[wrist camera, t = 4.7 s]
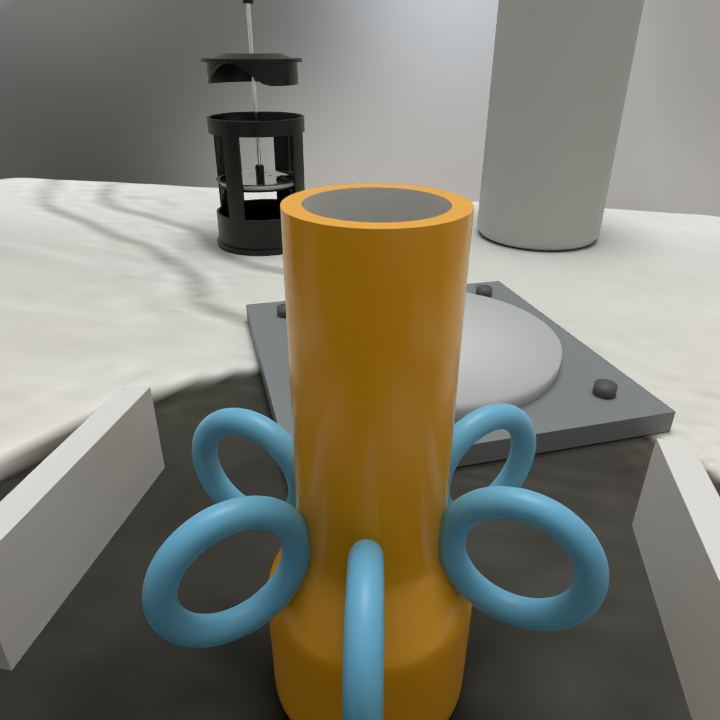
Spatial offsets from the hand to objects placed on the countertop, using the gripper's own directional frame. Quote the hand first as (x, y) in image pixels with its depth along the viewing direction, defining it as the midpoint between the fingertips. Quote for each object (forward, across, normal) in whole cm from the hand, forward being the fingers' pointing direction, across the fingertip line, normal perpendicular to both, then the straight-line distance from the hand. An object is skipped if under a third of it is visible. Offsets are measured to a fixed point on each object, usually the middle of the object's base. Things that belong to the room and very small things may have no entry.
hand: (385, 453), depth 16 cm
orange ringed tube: (0, 0, -9) cm, 9 cm away
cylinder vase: (+53, +9, -9) cm, 54 cm away
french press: (+45, -18, -9) cm, 50 cm away
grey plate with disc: (+21, 0, -8) cm, 22 cm away
